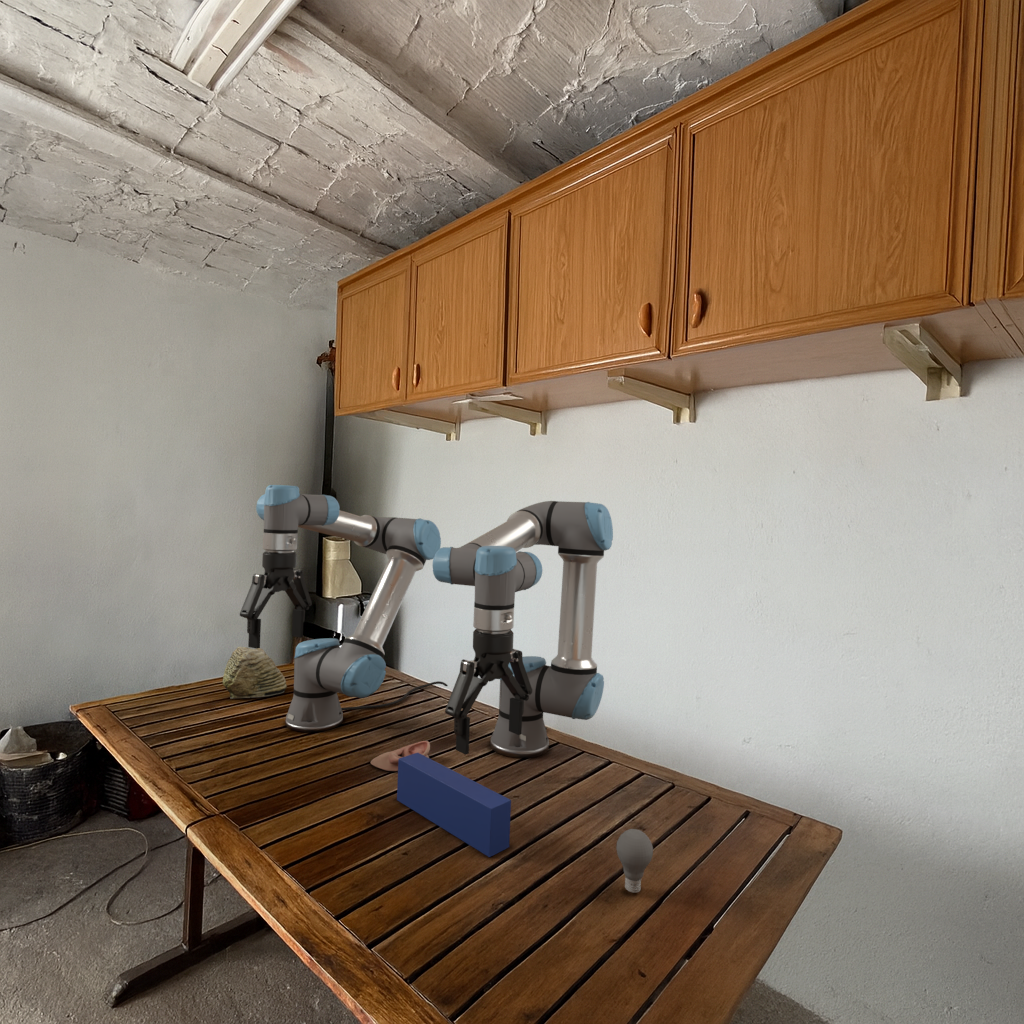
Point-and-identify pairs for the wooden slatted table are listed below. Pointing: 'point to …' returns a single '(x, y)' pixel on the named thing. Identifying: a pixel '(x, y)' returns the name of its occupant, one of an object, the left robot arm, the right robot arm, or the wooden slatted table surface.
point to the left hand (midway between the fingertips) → (276, 642)
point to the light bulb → (634, 857)
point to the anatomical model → (400, 755)
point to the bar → (455, 803)
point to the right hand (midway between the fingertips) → (489, 742)
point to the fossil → (252, 674)
